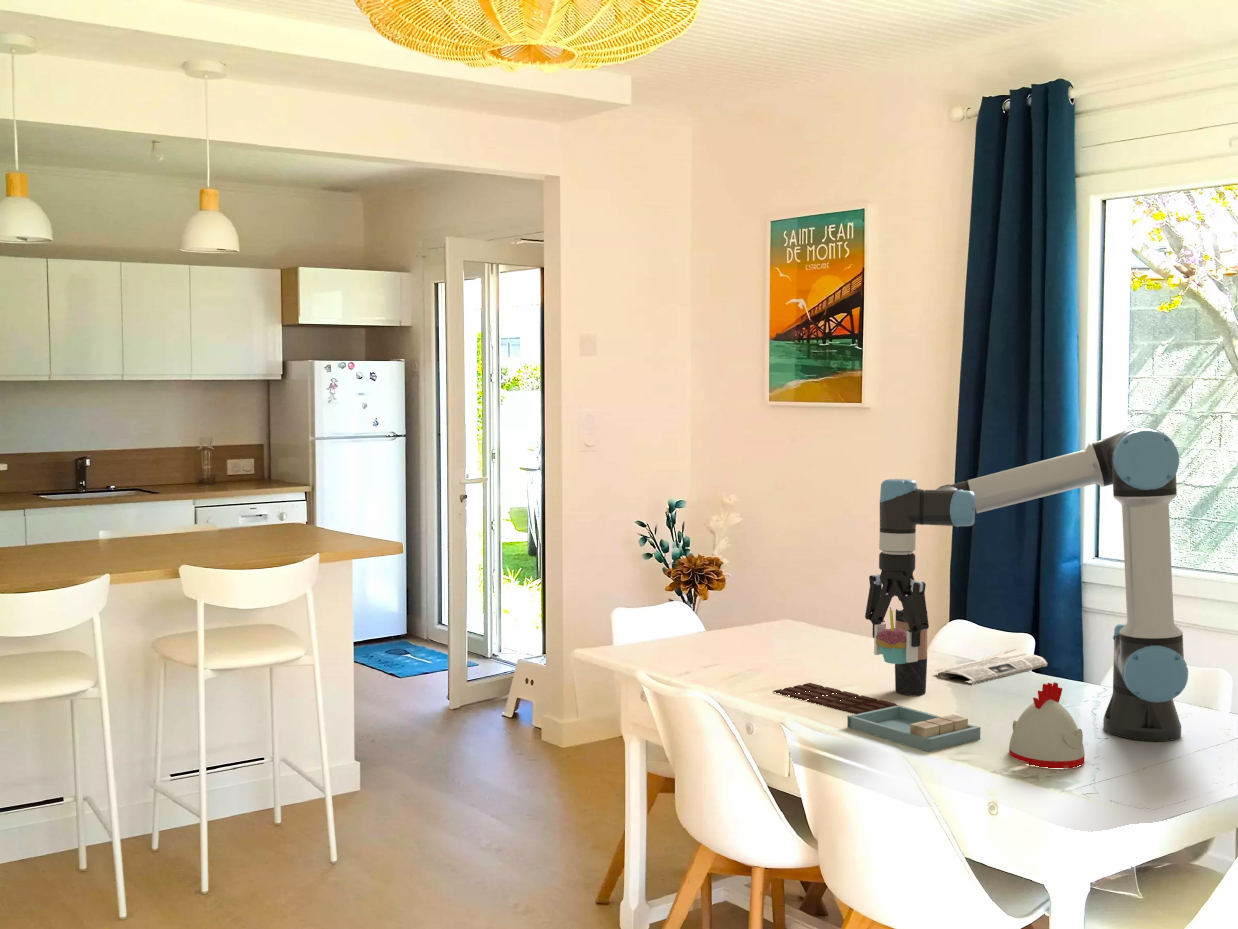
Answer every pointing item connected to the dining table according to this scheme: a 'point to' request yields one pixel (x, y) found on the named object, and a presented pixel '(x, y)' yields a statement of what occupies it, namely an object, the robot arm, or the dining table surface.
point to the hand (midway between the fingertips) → (895, 657)
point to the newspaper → (995, 666)
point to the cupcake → (893, 643)
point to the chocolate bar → (835, 698)
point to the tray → (908, 728)
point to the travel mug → (911, 664)
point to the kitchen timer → (1047, 733)
